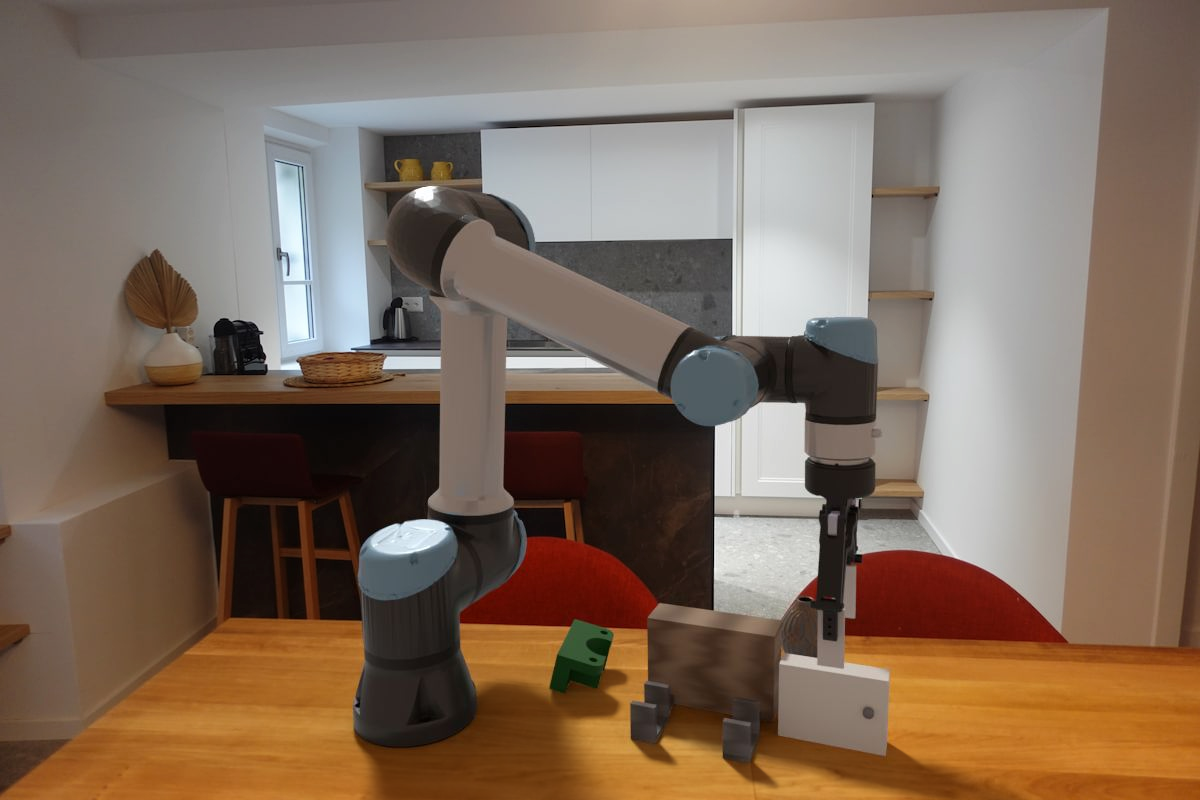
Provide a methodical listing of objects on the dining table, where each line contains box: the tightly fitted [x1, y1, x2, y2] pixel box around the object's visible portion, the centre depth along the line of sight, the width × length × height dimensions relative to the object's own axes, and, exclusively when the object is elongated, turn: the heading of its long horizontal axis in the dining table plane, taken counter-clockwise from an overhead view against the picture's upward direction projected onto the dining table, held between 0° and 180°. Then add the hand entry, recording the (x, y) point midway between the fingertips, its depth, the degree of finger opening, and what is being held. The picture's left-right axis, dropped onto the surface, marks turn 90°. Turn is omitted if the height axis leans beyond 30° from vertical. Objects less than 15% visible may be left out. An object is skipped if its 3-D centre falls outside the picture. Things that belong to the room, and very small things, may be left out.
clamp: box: [549, 618, 615, 695], centre depth 110 cm, size 12×6×9 cm, turn 164°
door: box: [777, 652, 891, 757], centre depth 94 cm, size 12×4×9 cm, turn 68°
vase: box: [781, 595, 818, 658], centre depth 114 cm, size 7×7×9 cm
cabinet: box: [629, 602, 782, 764], centre depth 98 cm, size 16×14×11 cm
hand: (837, 639), depth 93 cm, fingers open, 13 cm apart
